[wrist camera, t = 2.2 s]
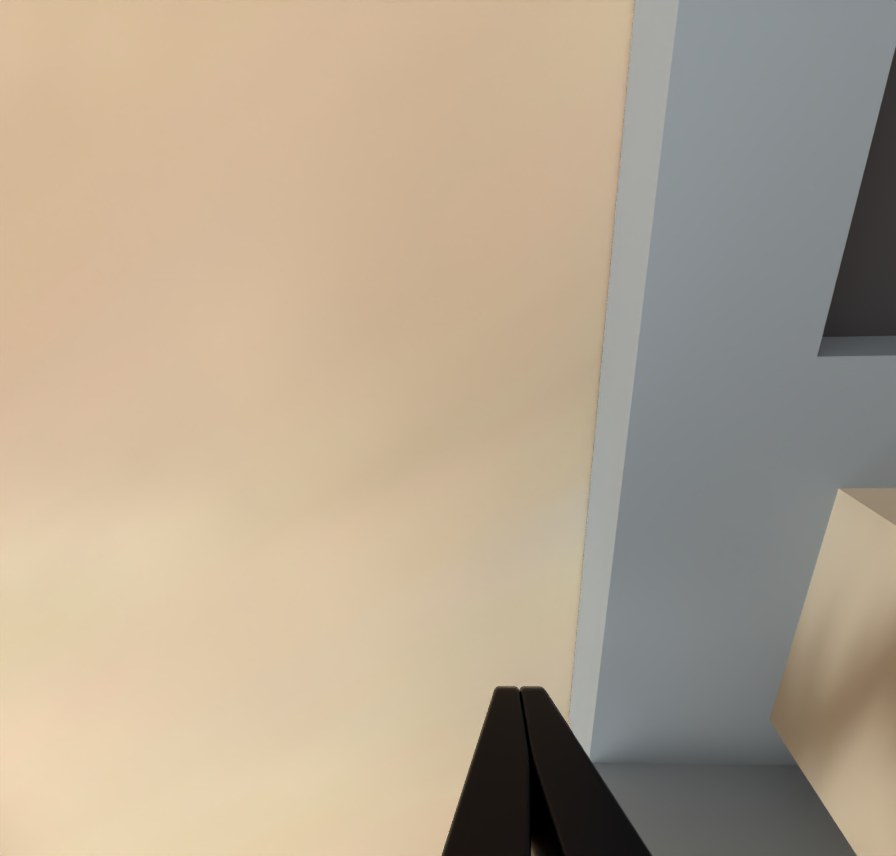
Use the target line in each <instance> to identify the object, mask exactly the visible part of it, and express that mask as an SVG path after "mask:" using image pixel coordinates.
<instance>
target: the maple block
mask: <svg viewBox="0 0 896 856" xmlns="http://www.w3.org/2000/svg"><path fill="white" fill-rule="evenodd" d="M769 721H770V722H771V724H772V725H773V727H774V728H775V730H776V731H777V733H778V734H779V736H780V738H781V739H782V741H783V742H784V744H785V745H786V747H787V748H788V750H789V751H790V753H791V755H792V756H793V758H794V759H795V761H796V762H797V764H798V765H799V767H800V768H801V770H802V772H803V773H804V775H805V776H806V778H807V779H808V781H809V782H810V784H811V785H812V787H813V789H814V790H815V792H816V793H817V795H818V796H819V798H820V799H821V801H822V802H823V804H824V806H825V807H826V809H827V810H828V812H829V813H830V815H831V816H832V818H833V819H834V821H835V823H836V824H837V826H838V827H839V829H840V830H841V832H842V833H843V835H844V836H845V838H846V840H847V841H848V843H849V844H850V846H851V847H852V849H853V850H854V852H855V853H856V855H857V856H896V488H842V489H838V492H837V495H836V498H835V502H834V505H833V509H832V512H831V515H830V519H829V522H828V525H827V529H826V532H825V535H824V539H823V542H822V545H821V549H820V552H819V555H818V559H817V562H816V565H815V569H814V572H813V575H812V579H811V582H810V585H809V589H808V592H807V595H806V599H805V602H804V605H803V609H802V612H801V615H800V619H799V622H798V626H797V629H796V632H795V636H794V639H793V642H792V646H791V649H790V652H789V656H788V659H787V662H786V666H785V669H784V672H783V676H782V679H781V682H780V686H779V689H778V692H777V696H776V699H775V702H774V706H773V709H772V712H771V716H770V719H769Z"/></svg>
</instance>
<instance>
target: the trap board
mask: <svg viewBox="0 0 896 856" xmlns="http://www.w3.org/2000/svg"><path fill="white" fill-rule="evenodd" d="M842 488H896V0H635V6H634V17H633V27H632V38H631V49H630V60H629V71H628V82H627V93H626V103H625V114H624V125H623V136H622V147H621V158H620V169H619V179H618V190H617V201H616V212H615V223H614V234H613V245H612V255H611V266H610V277H609V288H608V299H607V310H606V321H605V331H604V342H603V353H602V364H601V375H600V386H599V396H598V407H597V418H596V429H595V440H594V451H593V462H592V472H591V483H590V494H589V505H588V516H587V527H586V538H585V548H584V559H583V570H582V581H581V592H580V603H579V614H578V624H577V635H576V646H575V657H574V668H573V679H572V690H571V700H570V711H569V720H570V724H571V729H572V732H573V734H574V735H575V737H576V738H577V740H578V741H579V743H580V744H581V746H582V747H583V749H584V751H585V752H586V754H587V755H588V757H589V758H590V760H591V761H592V763H593V764H594V766H595V768H596V769H597V771H598V772H599V774H600V775H601V777H602V778H603V780H604V782H605V783H606V785H607V786H608V788H609V789H610V791H611V792H612V794H613V795H614V797H615V799H616V800H617V802H618V803H619V805H620V806H621V808H622V809H623V811H624V812H625V814H626V816H627V817H628V819H629V820H630V822H631V823H632V825H633V826H634V828H635V829H636V831H637V833H638V834H639V836H640V837H641V839H642V840H643V842H644V843H645V845H646V846H647V848H648V850H649V851H650V853H651V854H652V856H857V855H856V853H855V852H854V850H853V849H852V847H851V846H850V844H849V843H848V841H847V840H846V838H845V836H844V835H843V833H842V832H841V830H840V829H839V827H838V826H837V824H836V823H835V821H834V819H833V818H832V816H831V815H830V813H829V812H828V810H827V809H826V807H825V806H824V804H823V802H822V801H821V799H820V798H819V796H818V795H817V793H816V792H815V790H814V789H813V787H812V785H811V784H810V782H809V781H808V779H807V778H806V776H805V775H804V773H803V772H802V770H801V768H800V767H799V765H798V764H797V762H796V761H795V759H794V758H793V756H792V755H791V753H790V751H789V750H788V748H787V747H786V745H785V744H784V742H783V741H782V739H781V738H780V736H779V734H778V733H777V731H776V730H775V728H774V727H773V725H772V724H771V722H770V721H769V719H770V716H771V712H772V709H773V706H774V702H775V699H776V696H777V692H778V689H779V686H780V682H781V679H782V676H783V672H784V669H785V666H786V662H787V659H788V656H789V652H790V649H791V646H792V642H793V639H794V636H795V632H796V629H797V626H798V622H799V619H800V615H801V612H802V609H803V605H804V602H805V599H806V595H807V592H808V589H809V585H810V582H811V579H812V575H813V572H814V569H815V565H816V562H817V559H818V555H819V552H820V549H821V545H822V542H823V539H824V535H825V532H826V529H827V525H828V522H829V519H830V515H831V512H832V509H833V505H834V502H835V498H836V495H837V492H838V489H842Z"/></svg>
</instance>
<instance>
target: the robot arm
mask: <svg viewBox="0 0 896 856" xmlns="http://www.w3.org/2000/svg"><path fill="white" fill-rule="evenodd" d="M442 856H652V854H651V853H650V851H649V850H648V848H647V846H646V845H645V843H644V842H643V840H642V839H641V837H640V836H639V834H638V833H637V831H636V829H635V828H634V826H633V825H632V823H631V822H630V820H629V819H628V817H627V816H626V814H625V812H624V811H623V809H622V808H621V806H620V805H619V803H618V802H617V800H616V799H615V797H614V795H613V794H612V792H611V791H610V789H609V788H608V786H607V785H606V783H605V782H604V780H603V778H602V777H601V775H600V774H599V772H598V771H597V769H596V768H595V766H594V764H593V763H592V761H591V760H590V758H589V757H588V755H587V754H586V752H585V751H584V749H583V747H582V746H581V744H580V743H579V741H578V740H577V738H576V737H575V735H574V734H573V732H572V730H571V729H570V727H569V726H568V724H567V723H566V721H565V720H564V718H563V717H562V715H561V713H560V712H559V710H558V709H557V707H556V706H555V704H554V703H553V701H552V700H551V698H550V696H549V695H548V693H547V692H546V691H545V689H544V688H542V687H539V686H523V687H521V688H520V690H519V689H518V688H517V687H515V686H498V687H496V688H495V690H494V692H493V696H492V699H491V702H490V705H489V708H488V711H487V714H486V718H485V721H484V724H483V727H482V730H481V733H480V736H479V740H478V743H477V746H476V749H475V752H474V755H473V758H472V762H471V765H470V768H469V771H468V774H467V777H466V780H465V784H464V787H463V790H462V793H461V796H460V799H459V802H458V806H457V809H456V812H455V815H454V818H453V821H452V824H451V828H450V831H449V834H448V837H447V840H446V843H445V846H444V850H443V853H442Z"/></svg>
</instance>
